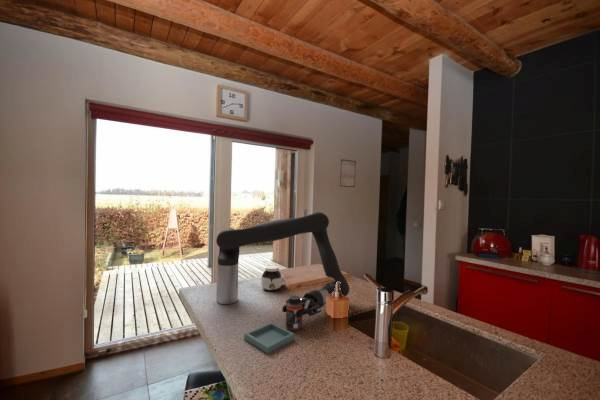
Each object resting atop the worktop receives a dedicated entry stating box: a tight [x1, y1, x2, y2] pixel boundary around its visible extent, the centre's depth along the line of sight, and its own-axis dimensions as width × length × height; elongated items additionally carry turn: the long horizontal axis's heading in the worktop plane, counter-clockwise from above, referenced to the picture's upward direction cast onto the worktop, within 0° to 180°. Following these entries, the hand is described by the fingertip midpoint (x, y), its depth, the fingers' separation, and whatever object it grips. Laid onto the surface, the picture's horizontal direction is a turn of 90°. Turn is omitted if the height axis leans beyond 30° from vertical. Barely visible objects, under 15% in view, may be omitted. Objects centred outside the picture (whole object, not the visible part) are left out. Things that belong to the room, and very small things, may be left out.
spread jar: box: [261, 265, 287, 292], centre depth 145 cm, size 12×11×12 cm
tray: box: [243, 321, 296, 356], centre depth 92 cm, size 12×12×2 cm
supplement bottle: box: [285, 295, 303, 332], centre depth 101 cm, size 6×6×11 cm
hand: (290, 312), depth 99 cm, fingers closed on supplement bottle, 6 cm apart
